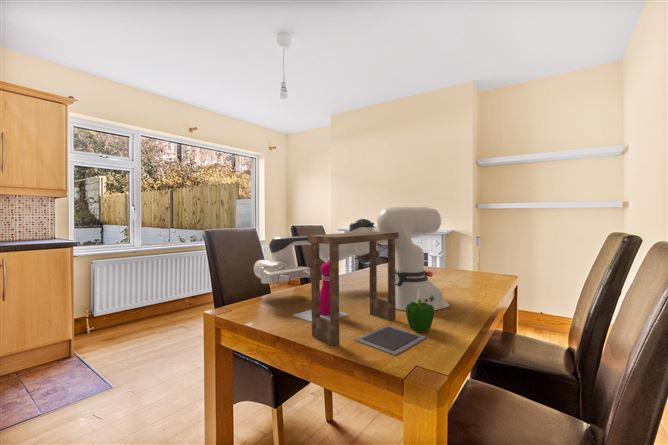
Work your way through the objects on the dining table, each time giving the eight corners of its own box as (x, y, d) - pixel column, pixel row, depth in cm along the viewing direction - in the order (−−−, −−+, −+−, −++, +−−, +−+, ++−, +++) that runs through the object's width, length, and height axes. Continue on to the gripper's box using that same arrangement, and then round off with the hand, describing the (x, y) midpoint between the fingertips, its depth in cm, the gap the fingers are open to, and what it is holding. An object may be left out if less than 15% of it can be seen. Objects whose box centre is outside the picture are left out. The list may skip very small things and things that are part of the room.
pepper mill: (333, 316, 107) (337, 260, 106) (313, 313, 109) (317, 258, 107) (337, 310, 114) (341, 257, 113) (318, 307, 116) (322, 255, 114)
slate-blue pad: (293, 315, 110) (293, 314, 110) (322, 307, 119) (322, 306, 119) (319, 325, 100) (319, 324, 100) (348, 315, 109) (348, 314, 109)
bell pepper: (413, 323, 101) (412, 293, 101) (437, 328, 96) (437, 297, 96) (401, 330, 95) (401, 298, 95) (426, 337, 90) (426, 303, 89)
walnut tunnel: (308, 335, 91) (307, 235, 90) (371, 312, 112) (370, 231, 112) (336, 347, 83) (336, 237, 82) (398, 320, 104) (398, 232, 103)
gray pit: (354, 340, 88) (354, 338, 88) (386, 325, 99) (386, 324, 99) (395, 355, 78) (395, 354, 78) (426, 337, 89) (426, 336, 89)
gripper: (298, 276, 135) (319, 280, 125) (257, 283, 121) (277, 289, 111) (298, 262, 135) (319, 265, 125) (257, 268, 121) (277, 272, 111)
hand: (299, 277), depth 118 cm, fingers open, 8 cm apart
